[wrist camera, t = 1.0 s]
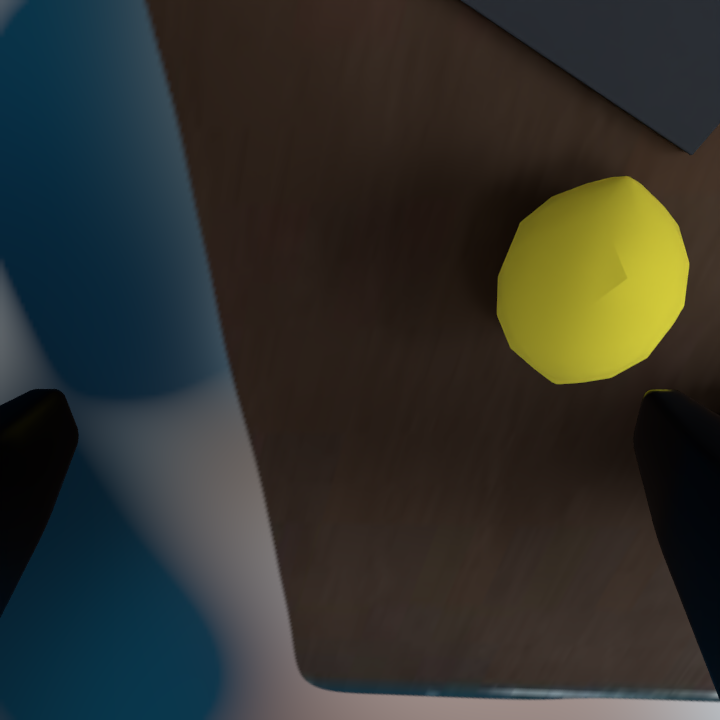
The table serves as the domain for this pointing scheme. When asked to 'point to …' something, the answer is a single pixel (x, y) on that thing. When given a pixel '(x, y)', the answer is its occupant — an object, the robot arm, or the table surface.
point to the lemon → (592, 281)
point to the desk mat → (630, 55)
